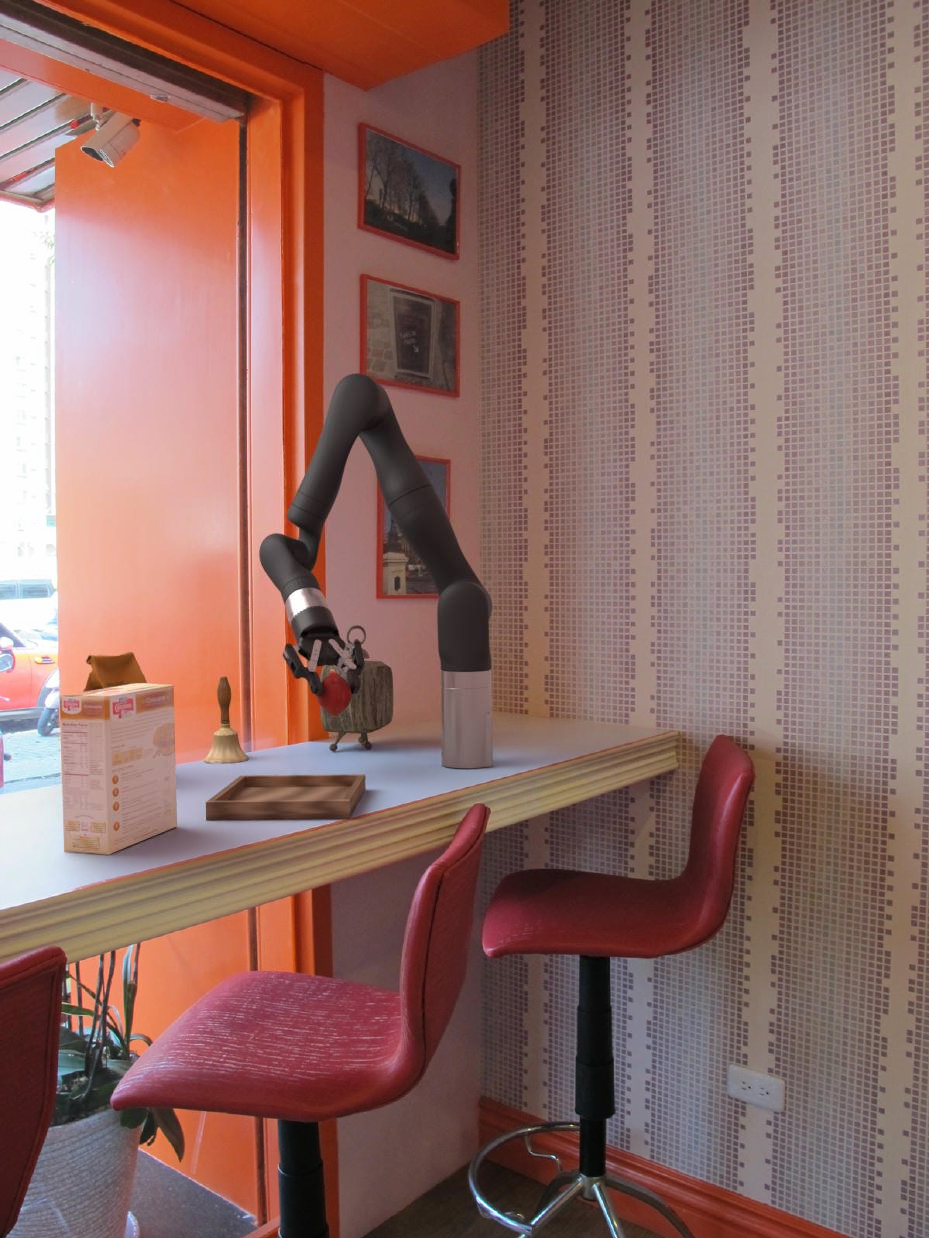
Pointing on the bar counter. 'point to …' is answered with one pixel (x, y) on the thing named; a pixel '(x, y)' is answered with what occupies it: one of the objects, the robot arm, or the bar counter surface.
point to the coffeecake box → (117, 766)
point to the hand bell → (225, 732)
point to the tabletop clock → (363, 701)
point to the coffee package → (113, 671)
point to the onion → (335, 694)
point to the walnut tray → (287, 797)
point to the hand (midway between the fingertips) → (338, 691)
